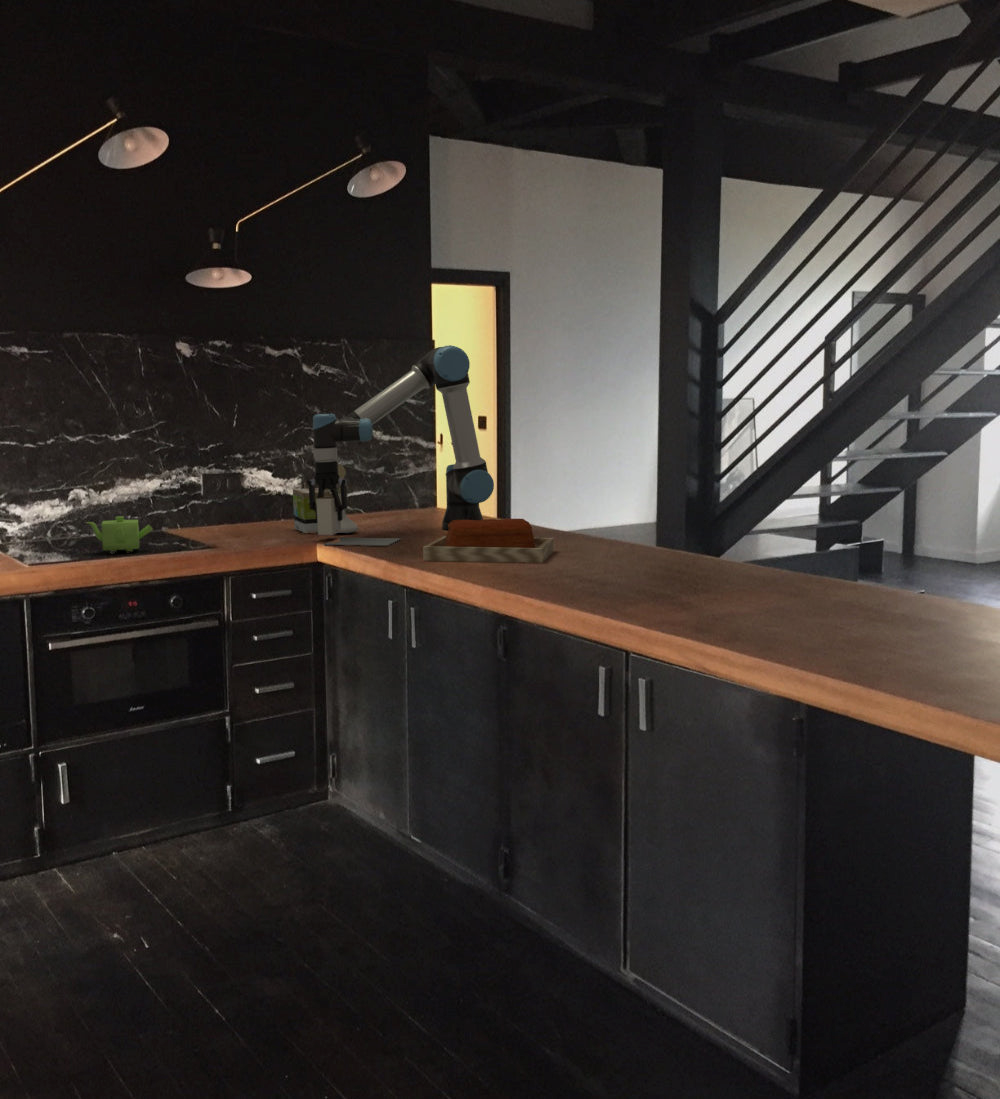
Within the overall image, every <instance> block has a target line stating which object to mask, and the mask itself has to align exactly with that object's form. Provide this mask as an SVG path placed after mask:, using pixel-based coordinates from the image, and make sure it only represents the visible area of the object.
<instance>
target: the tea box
mask: <svg viewBox="0 0 1000 1099" xmlns="http://www.w3.org/2000/svg"><path fill="white" fill-rule="evenodd" d="M318 489H319V487H317V488H316V487H315V503H316V499H317V496H318ZM324 496H331V491H330V490H327V489H325V491H324ZM292 502H293V503H292V505H293V507H292V508H293V523H294V524H293V525H294V530H297V531H299V532H301V531H302V533H303V532H305V533H308V532H318V522H317V521H316V512H315V511H314V510H311V509H310V502H309V487H308V488H298V489H297V488H296V489H292Z"/></svg>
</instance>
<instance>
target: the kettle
mask: <svg viewBox="0 0 1000 1099" xmlns="http://www.w3.org/2000/svg"><path fill="white" fill-rule="evenodd" d="M124 518H125V516H124V515H123V516H120V515H119V516H115V519H114V520H113V519H112V520H103V521H102V522H101V531H100V530H99V528H98V526H97V524H96V523H95V522H94V521H85V524H88V525H89V526H90V527H91V528H92V530H93V533H94V535H95V537H96V539H98V540H99V541H100V542H102V551H116V552H117V551H119V550H125V551H126V552H127V551H133V549H134V550H139V549H140V539H142V538H143V537H145V536H146V535H148V534H149V533H150V532H152V531H153V530H154V529H153V528H152V526H151V525H150V524H147V525H146V526H145V527H143V528H142V529H141V530H140V528H139V527H140V525H139V519H124Z"/></svg>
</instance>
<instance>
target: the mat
mask: <svg viewBox="0 0 1000 1099" xmlns="http://www.w3.org/2000/svg"><path fill="white" fill-rule="evenodd" d="M339 538H340V542H337V543H329V542H330V541H328V542H325V543H324V544H323V546H325V547H330V546H329V545H365V546H364V547H367V546H388V547H390V546H392V545H394V544H396V543H398V542H400V541H401V540H402V539H401V538H394V537H393V538H390V537H389V538H388V537H387V538H386V537H383V538H382V537H339ZM399 540H400V541H399ZM397 541H398V542H397ZM395 542H396V543H395ZM393 543H394V544H393ZM391 544H392V545H391ZM389 545H390V546H389Z"/></svg>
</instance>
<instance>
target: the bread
mask: <svg viewBox="0 0 1000 1099" xmlns="http://www.w3.org/2000/svg"><path fill="white" fill-rule="evenodd" d="M448 527H449V530H447V533H446V544H445V547H501V548H535V543H534V538H535V536H534V534H533V527H532V524H531V523H530V521H527V520H526V519H524V518H503V519H496V518H494V519H493V518H491V519H490V518H488V519H487V518H486V519H485V518H483V520H453V521H452V522H451V523H450V524H448Z"/></svg>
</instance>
